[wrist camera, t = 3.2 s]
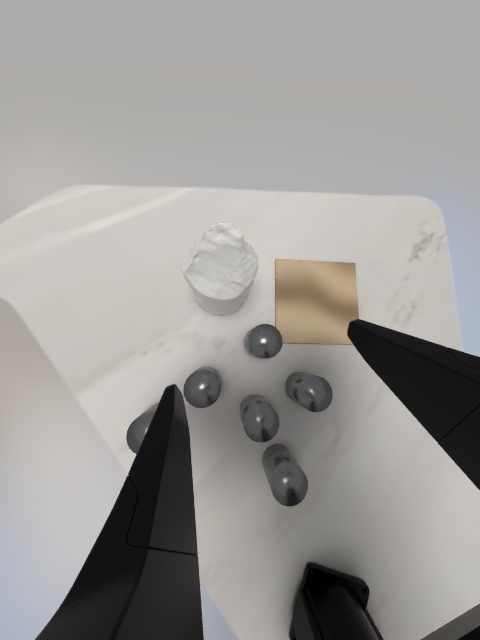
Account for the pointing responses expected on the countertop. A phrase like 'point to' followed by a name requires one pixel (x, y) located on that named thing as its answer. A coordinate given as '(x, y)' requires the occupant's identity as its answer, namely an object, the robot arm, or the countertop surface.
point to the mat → (315, 301)
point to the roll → (220, 269)
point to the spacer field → (255, 414)
